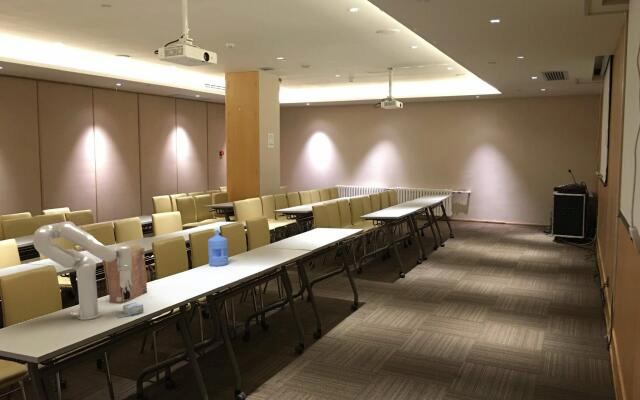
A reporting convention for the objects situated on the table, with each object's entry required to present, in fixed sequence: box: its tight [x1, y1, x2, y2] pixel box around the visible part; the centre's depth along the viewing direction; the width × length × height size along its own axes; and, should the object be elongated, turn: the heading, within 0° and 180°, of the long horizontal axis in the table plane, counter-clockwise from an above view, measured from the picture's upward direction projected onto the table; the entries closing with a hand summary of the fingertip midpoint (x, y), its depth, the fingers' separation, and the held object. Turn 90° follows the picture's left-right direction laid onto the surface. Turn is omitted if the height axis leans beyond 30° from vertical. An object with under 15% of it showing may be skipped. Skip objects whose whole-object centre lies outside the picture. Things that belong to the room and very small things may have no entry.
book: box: [106, 247, 148, 304], centre depth 329 cm, size 25×9×30 cm, turn 164°
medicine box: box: [122, 302, 145, 316], centre depth 296 cm, size 8×4×9 cm
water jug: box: [207, 229, 229, 267], centre depth 422 cm, size 16×16×28 cm
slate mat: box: [115, 312, 142, 319], centre depth 294 cm, size 12×8×1 cm, turn 121°
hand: (127, 298), depth 299 cm, fingers closed
